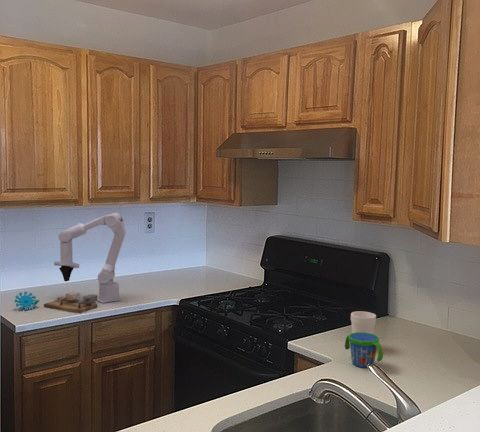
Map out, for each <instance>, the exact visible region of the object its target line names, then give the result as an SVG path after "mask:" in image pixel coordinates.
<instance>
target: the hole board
mask: <svg viewBox="0 0 480 432" xmlns="http://www.w3.org/2000/svg"><path fill="white" fill-rule="evenodd" d="M43 308H46V309H51V310H52V309H53V310H59V311H65V312H70V313H75V314H83V313H86V312H88V311H91V310H93V309H94V310H95V309H96V308H98V303H96V304H95V305H92V306H90V305H84V304H80V307H79V304H77V303H72V302H66V301H63V304H61V301H59V300H57V299H56V300H53V301H50V302H46V303H45V302H44V303H43Z"/></svg>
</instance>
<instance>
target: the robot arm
mask: <svg viewBox="0 0 480 432" xmlns="http://www.w3.org/2000/svg"><path fill="white" fill-rule="evenodd" d="M98 226H107V227H108V228H110V230H111V231H112V232H113V238H112V241H111V244H110V247H109V250H108V253H107V256H106V260H105V263H104V265H103V267H102V268H101V271H100V272H99V273H98V275H97V280H98V297H97V302H100V303H102V304H105V303H110V302H111V303H112V302H117V301H120V300H121V299H120V285H119V283H118V281H114V278H115V277H116V273H115V271H116V264H117V262H118V261H117V260H118V257H119V255H120V251H121V248H122V246H123V242H124V239H125V236H126V228H125V220H124V218H123V217H122V215H121V214H120V213H118V212H113V213H109V214H105V215H103V216H99V217H98V218H97V217H96V218H95V219H92V220H91V221H88V222H86V223H81V222H80V223H79V222H77V223H75V225H73V226H71V227H67V228H66V230H62V231H60V232H59V234H58V240H59V242H60V243H59V246H60V247H59V248H60V249H59V250H60V252H59V254H60V255H59V256H60V260H59V261H58V260H55V261H54V262H53V266H57V267H59V271H60V272H61V274H62V277H63V281H64V282H69V281H70V278H71V275H72V272H73V271H74V269H80V263H77V262H76V263H75V262H73V261H74V260H73V240H74V239H77V238H79V237H81V236H83V235H86V234H87V231H88V230H90V229H93V228H94V227H95V228H96V227H98Z"/></svg>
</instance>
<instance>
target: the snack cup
mask: <svg viewBox="0 0 480 432" xmlns="http://www.w3.org/2000/svg"><path fill="white" fill-rule="evenodd" d="M344 348H345V350H350V356H351V363H352V365H354V366H356V367H359V368H368V367H367V365H368V364H373V365H374V364H375V360H377V362H381V361H382V360H383V357H384V354H383V348H382V345H381V343H380V337H379V336H377V335H376V334H374V333H373V334H370V333H363V332H357V333H352V332H351V333H350V334H348V335H346V338H345V342H344ZM376 354H377V358H376Z"/></svg>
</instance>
